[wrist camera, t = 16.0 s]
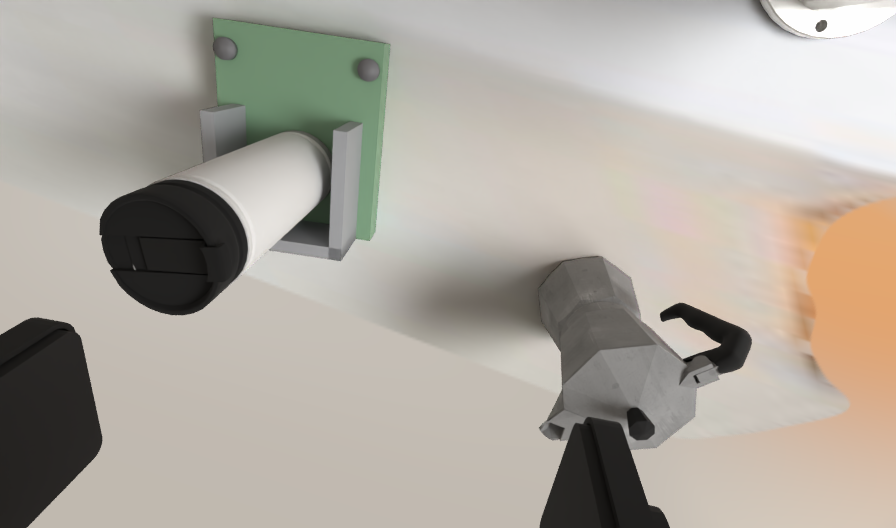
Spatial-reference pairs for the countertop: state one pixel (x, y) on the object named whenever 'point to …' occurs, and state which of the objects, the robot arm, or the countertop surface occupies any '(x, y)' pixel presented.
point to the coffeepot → (626, 355)
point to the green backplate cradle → (305, 118)
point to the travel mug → (212, 220)
